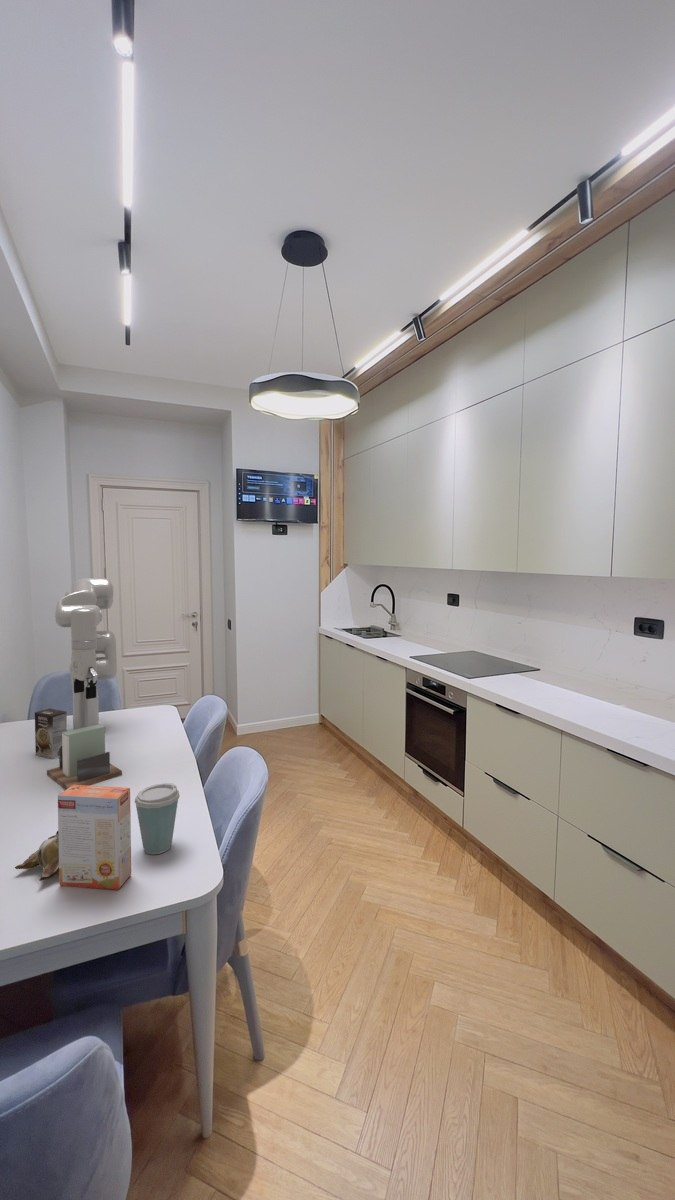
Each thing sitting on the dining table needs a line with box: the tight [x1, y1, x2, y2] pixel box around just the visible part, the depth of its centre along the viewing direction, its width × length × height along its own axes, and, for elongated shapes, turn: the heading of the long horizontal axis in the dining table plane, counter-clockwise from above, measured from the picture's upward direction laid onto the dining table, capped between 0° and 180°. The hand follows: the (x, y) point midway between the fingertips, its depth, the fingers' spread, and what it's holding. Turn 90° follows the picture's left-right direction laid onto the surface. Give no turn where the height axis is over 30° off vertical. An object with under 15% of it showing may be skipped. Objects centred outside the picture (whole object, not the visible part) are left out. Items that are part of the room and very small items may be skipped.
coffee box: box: [34, 708, 68, 760], centre depth 183 cm, size 9×6×16 cm
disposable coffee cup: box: [134, 782, 180, 855], centre depth 125 cm, size 11×11×15 cm
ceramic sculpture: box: [14, 830, 59, 882], centre depth 117 cm, size 11×9×15 cm
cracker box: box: [57, 785, 132, 891], centre depth 111 cm, size 14×6×21 cm, turn 84°
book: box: [62, 723, 106, 777], centre depth 166 cm, size 4×12×14 cm, turn 139°
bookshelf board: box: [46, 747, 123, 791], centre depth 166 cm, size 18×17×8 cm
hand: (85, 695), depth 167 cm, fingers open, 9 cm apart
